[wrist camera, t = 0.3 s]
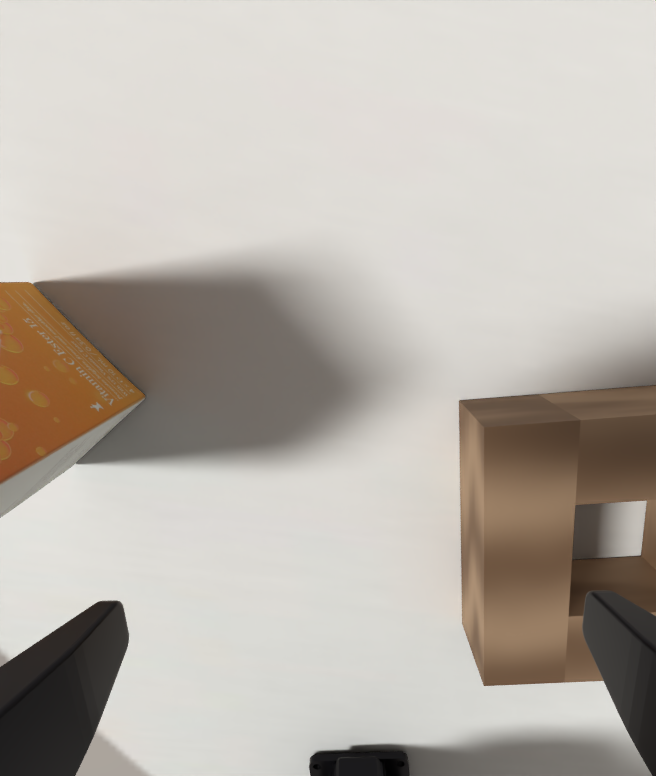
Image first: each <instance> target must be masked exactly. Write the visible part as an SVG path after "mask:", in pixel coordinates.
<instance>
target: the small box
mask: <svg viewBox="0 0 656 776" xmlns="http://www.w3.org/2000/svg"><path fill="white" fill-rule="evenodd" d="M144 399H145V395H144V394H143V393H142V392H141V391H140V390H139V389H137V388H136V387H135V386H134V385H133V384H132V383H131V382H130V381H129V380H128V379H126V378H125V377H124V376H123V375H122V374H121V373H120V372H119V371H118V370H117V369H116V368H115V367H114V366H113V365H112V364H111V363H110V362H109V361H108V360H107V359H106V358H105V357H104V356H103V355H102V354H101V353H100V352H99V351H98V350H97V349H96V348H95V347H94V346H93V345H92V344H91V343H90V342H89V341H88V340H87V339H86V338H85V337H84V336H83V335H82V334H81V333H80V332H79V331H78V330H77V329H76V328H75V327H74V326H73V325H72V324H71V323H70V322H69V321H68V320H67V319H66V318H65V317H64V316H63V315H62V314H61V313H60V312H59V311H58V310H57V309H56V308H55V307H54V306H53V305H52V304H51V303H50V302H49V301H48V300H47V299H46V298H45V297H44V296H43V295H42V294H41V293H40V291H39V290H38V289H37V288H36V287H35V286H34V285H33V284H32V283H29V282H0V518H1V517H2V516H4V515H5V514H6V513H8V512H9V511H11V510H12V509H14V508H15V507H16V506H18V505H19V504H21V503H22V502H23V501H25V500H26V499H28V498H29V497H30V496H32V495H33V494H35V493H36V492H37V491H39V490H40V489H41V488H43V487H44V486H45V485H47V484H48V483H50V482H51V481H52V480H54V479H55V478H57V477H58V476H59V475H61V474H62V473H64V472H65V471H66V470H68V469H69V468H70V467H72V466H73V465H74V464H75V463H76V462H77V461H78V460H79V459H80V458H82V457H83V456H84V455H85V454H86V453H87V452H88V451H89V450H90V449H91V448H92V447H93V446H94V445H96V444H97V443H98V442H99V441H100V440H101V439H102V438H103V437H104V436H105V435H106V434H107V433H108V432H109V431H111V430H112V429H113V428H114V427H115V426H116V425H117V424H118V423H119V422H120V421H121V420H123V419H124V418H125V417H126V416H127V415H128V414H129V413H130V412H131V411H132V410H133V409H134V408H136V407H137V406H138V405H139V404H140V403H141V402H142V401H143V400H144Z"/></svg>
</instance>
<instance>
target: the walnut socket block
mask: <svg viewBox="0 0 656 776" xmlns="http://www.w3.org/2000/svg"><path fill="white" fill-rule="evenodd" d="M459 429H460V497H461V566H462V624H463V627H464V630H465V633H466V636H467V639H468V642H469V644H470V647H471V650H472V653H473V656H474V659H475V662H476V665H477V667H478V670H479V673H480V676H481V679H482V682H483V685H484V686H494V685H517V684H540V683H563V682H586V681H604V680H603V678H602V676H601V674H600V672H599V670H598V667H597V665H596V663H595V661H594V659H593V657H592V654H591V652H590V650H589V648H588V646H587V644H586V641H585V639H584V636H583V631H582V623H583V614H584V606H585V598H586V594H587V593H588V592H589V591H592V590H610V591H613V592H615V593H617V594H619V595H621V596H622V597H624V598H626V599H627V600H629V601H631V602H633V603H634V604H636V605H638V606H639V607H641V608H643V609H645V610H646V611H648V612H650V613H652V614H653V615H655V616H656V385H652V386H639V387H626V388H614V389H601V390H588V391H575V392H563V393H550V394H537V395H524V396H511V397H499V398H486V399H473V400H460V401H459ZM645 500H647V506H646V515H645V524H644V533H643V542H642V552H641V556H635V557H618V558H600V559H583V560H572V551H573V535H574V519H575V505H583V504H599V503H614V502H629V501H645Z"/></svg>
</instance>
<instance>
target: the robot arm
mask: <svg viewBox="0 0 656 776" xmlns="http://www.w3.org/2000/svg"><path fill="white" fill-rule="evenodd" d="M582 631H583V636H584V639H585V641H586V644H587V646H588V648H589V650H590V652H591V654H592V657H593V659H594V661H595V663H596V665H597V667H598V670H599V672H600V674H601V676H602V678H603V680H604V683H605V685H606V687H607V689H608V691H609V693H610V696H611V698H612V700H613V702H614V704H615V706H616V709H617V711H618V713H619V715H620V717H621V719H622V721H623V723H624V725H625V727H626V729H627V731H628V733H629V735H630V737H631V739H632V741H633V742H634V744H635V746H636V748H637V750H638V751H639V753H640V755H641V757H642V758H643V760H644V762H645V764H646V765H647V767H648V769H649V771H650V772H651V774H652V776H656V616H655V615H653V614H652V613H650V612H648V611H646V610H645V609H643V608H641V607H639V606H638V605H636V604H634V603H633V602H631V601H629V600H627V599H626V598H624V597H622V596H621V595H619V594H617V593H615V592H613V591H610V590H592V591H589V592H588V593H587V594H586V598H585V606H584V614H583V623H582ZM128 642H129V632H128V627H127V622H126V617H125V612H124V608H123V605H122V603H121V602H120V601H99V602H97V603H95V604H94V605H92V606H91V607H89V608H88V609H86V610H85V611H83V612H82V613H80V614H79V615H77V616H76V617H74V618H73V619H71V620H70V621H68V622H67V623H65V624H64V625H62V626H61V627H59V628H58V629H56V630H55V631H53V632H52V633H50V634H49V635H48V636H46V637H45V638H43V639H42V640H40V641H39V642H37V643H36V644H34V645H33V646H31V647H30V648H28V649H27V650H25V651H24V652H22V653H21V654H19V655H18V656H16V657H15V658H13V659H12V660H10V661H9V662H7V663H6V664H4V665H3V666H1V667H0V776H75V775H76V773H77V771H78V769H79V767H80V765H81V763H82V760H83V758H84V756H85V754H86V752H87V750H88V748H89V745H90V743H91V741H92V739H93V737H94V734H95V732H96V729H97V727H98V724H99V722H100V719H101V717H102V714H103V711H104V709H105V706H106V703H107V701H108V698H109V695H110V693H111V690H112V687H113V685H114V682H115V679H116V677H117V674H118V671H119V669H120V666H121V663H122V661H123V658H124V655H125V653H126V650H127V647H128ZM309 768H310V775H311V776H409V764H408V757H407V754H406V753H404V752H374V753H346V754H318V755H313V756H311V758H310V765H309Z"/></svg>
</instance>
